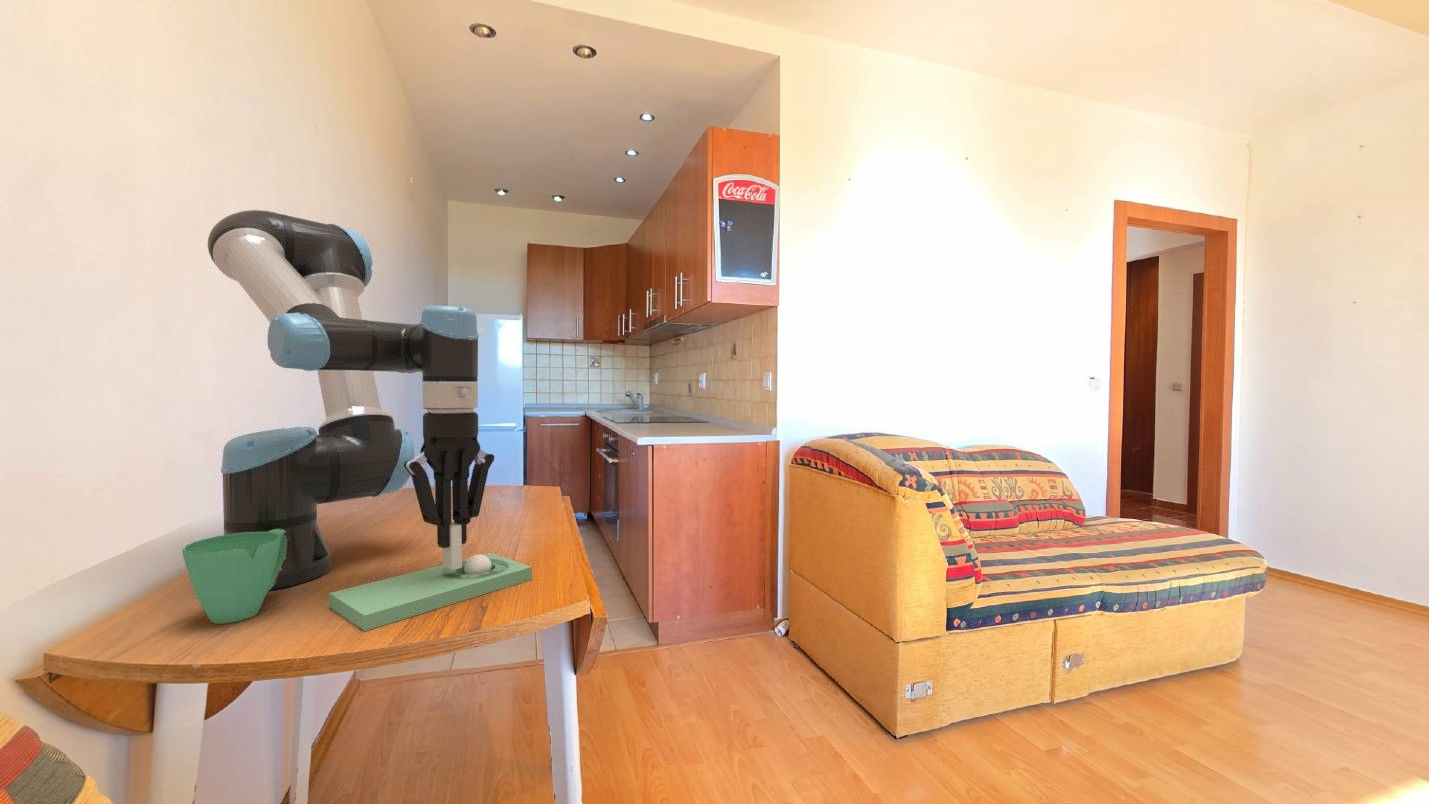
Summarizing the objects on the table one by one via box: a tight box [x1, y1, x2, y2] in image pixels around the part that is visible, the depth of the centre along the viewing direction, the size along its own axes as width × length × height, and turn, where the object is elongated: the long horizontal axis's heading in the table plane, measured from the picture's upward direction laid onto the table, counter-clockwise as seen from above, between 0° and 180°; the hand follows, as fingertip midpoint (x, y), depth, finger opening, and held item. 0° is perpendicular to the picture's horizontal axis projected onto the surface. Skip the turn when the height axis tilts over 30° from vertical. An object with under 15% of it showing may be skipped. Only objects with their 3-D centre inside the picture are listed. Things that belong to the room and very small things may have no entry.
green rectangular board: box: [328, 552, 533, 632], centre depth 83 cm, size 24×12×2 cm, turn 142°
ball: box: [464, 553, 492, 575], centre depth 89 cm, size 4×4×4 cm
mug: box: [182, 529, 290, 625], centre depth 77 cm, size 15×10×10 cm
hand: (452, 567), depth 85 cm, fingers closed
